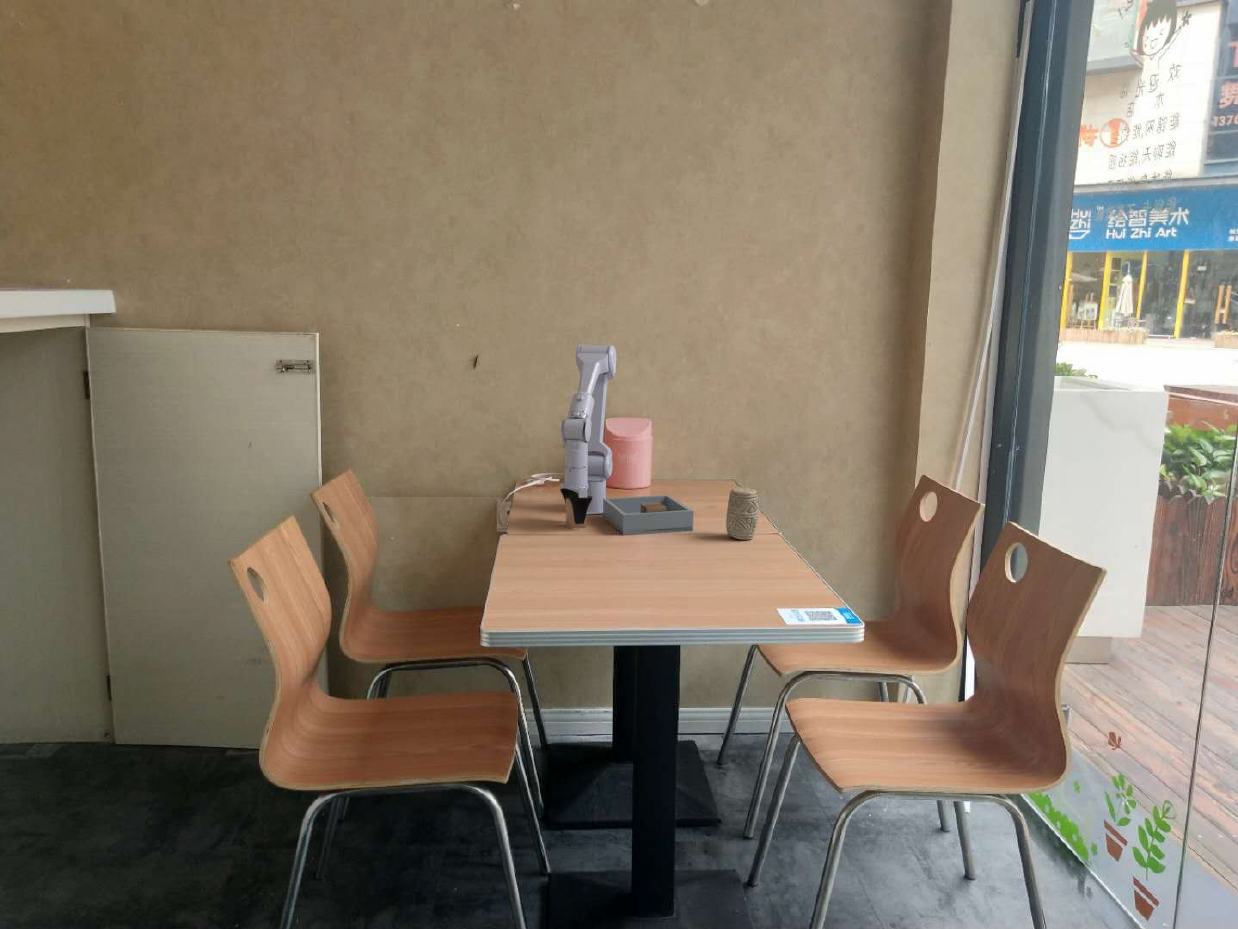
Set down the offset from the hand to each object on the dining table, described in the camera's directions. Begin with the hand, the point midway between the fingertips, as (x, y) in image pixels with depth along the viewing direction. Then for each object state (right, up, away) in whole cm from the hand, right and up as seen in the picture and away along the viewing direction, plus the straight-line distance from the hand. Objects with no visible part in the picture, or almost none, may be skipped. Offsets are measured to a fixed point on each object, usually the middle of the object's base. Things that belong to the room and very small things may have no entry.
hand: (575, 519), depth 225 cm
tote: (+18, -1, +4) cm, 18 cm away
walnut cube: (+19, -1, -1) cm, 19 cm away
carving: (+40, -4, -8) cm, 41 cm away
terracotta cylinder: (0, -2, 0) cm, 2 cm away
